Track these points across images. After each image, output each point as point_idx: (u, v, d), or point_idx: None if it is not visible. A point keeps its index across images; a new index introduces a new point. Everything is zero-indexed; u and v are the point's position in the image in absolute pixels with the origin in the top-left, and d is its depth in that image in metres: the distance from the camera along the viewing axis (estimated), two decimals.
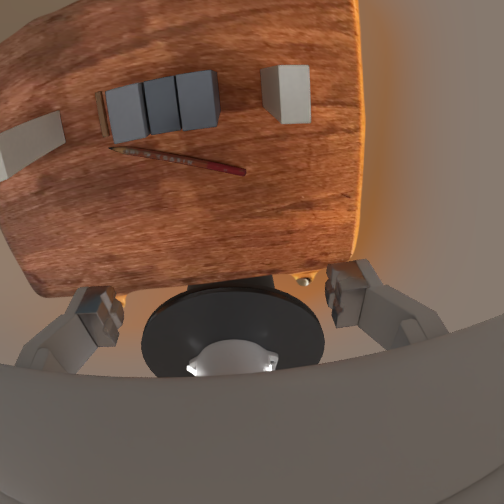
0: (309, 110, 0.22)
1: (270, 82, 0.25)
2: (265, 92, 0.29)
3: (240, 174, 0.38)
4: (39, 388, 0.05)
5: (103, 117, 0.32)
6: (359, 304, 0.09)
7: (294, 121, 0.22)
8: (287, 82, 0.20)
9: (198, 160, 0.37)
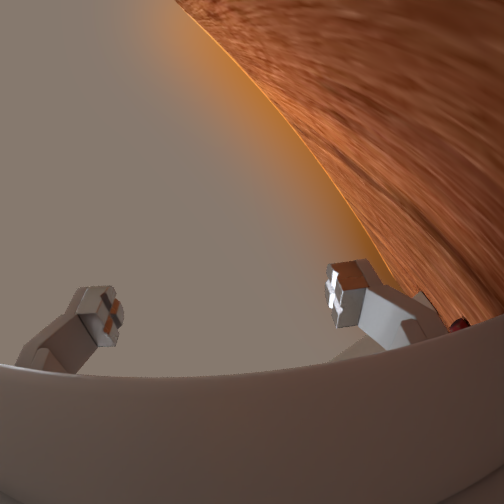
0: None
1: None
2: None
3: None
4: (39, 388, 0.05)
5: None
6: (359, 304, 0.09)
7: None
8: None
9: None
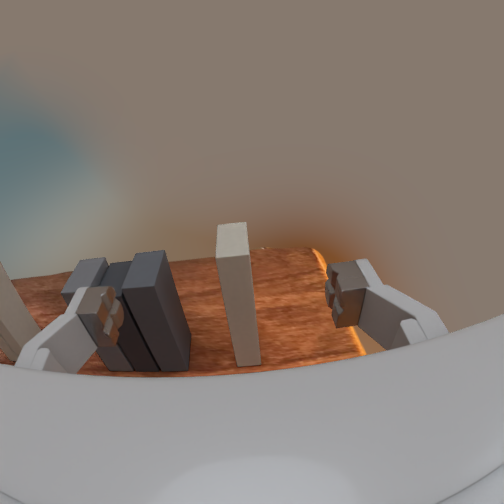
0: (247, 246, 0.23)
1: None
2: None
3: None
4: (39, 388, 0.05)
5: None
6: (359, 304, 0.09)
7: (230, 254, 0.22)
8: (224, 232, 0.25)
9: None
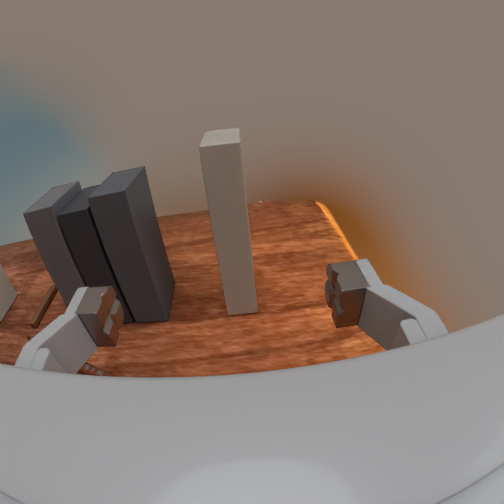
0: (238, 138, 0.18)
1: None
2: None
3: None
4: (39, 388, 0.05)
5: (42, 306, 0.26)
6: (359, 304, 0.09)
7: (217, 143, 0.17)
8: (213, 134, 0.20)
9: (113, 374, 0.19)
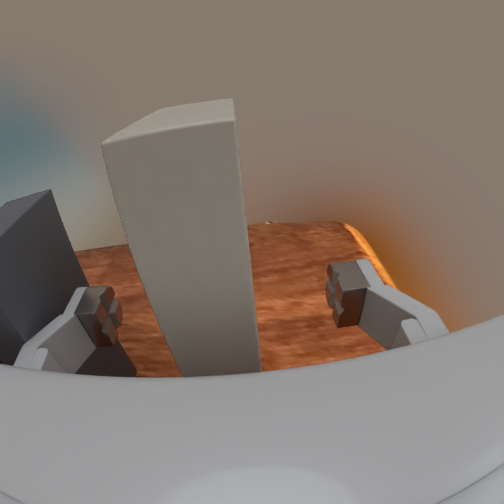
0: (228, 111, 0.05)
1: None
2: None
3: None
4: (39, 388, 0.05)
5: None
6: (360, 304, 0.09)
7: (156, 128, 0.05)
8: (169, 110, 0.07)
9: None
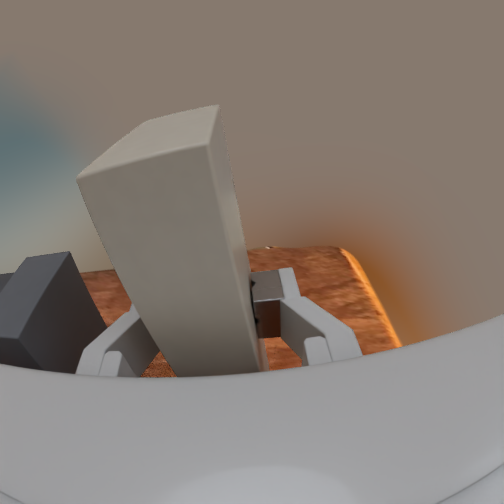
0: (205, 129, 0.05)
1: None
2: None
3: None
4: (39, 388, 0.05)
5: None
6: (276, 316, 0.09)
7: (129, 158, 0.05)
8: (152, 125, 0.07)
9: None
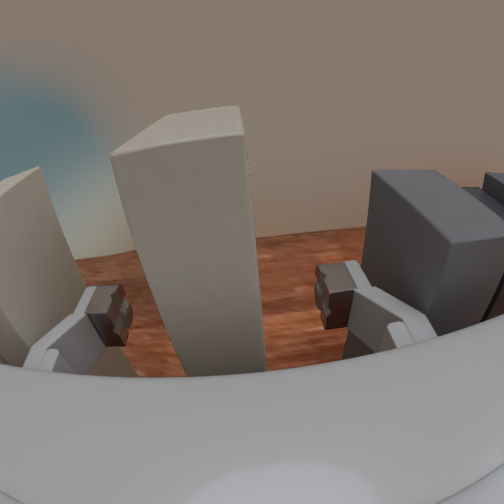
0: (237, 122, 0.06)
1: None
2: None
3: None
4: (39, 388, 0.05)
5: None
6: (347, 306, 0.09)
7: (166, 140, 0.05)
8: (176, 118, 0.08)
9: None
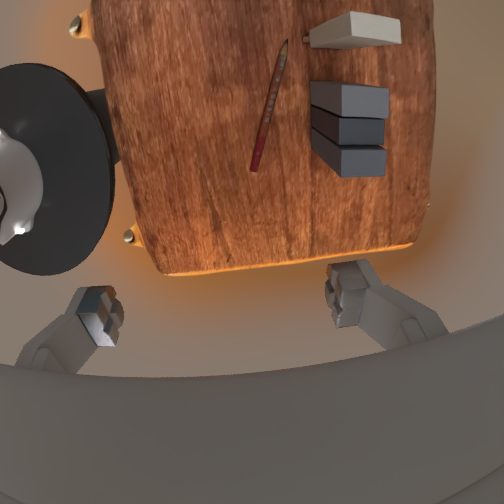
0: (363, 36, 0.19)
1: None
2: None
3: (253, 167, 0.39)
4: (39, 388, 0.05)
5: None
6: (359, 304, 0.09)
7: (352, 21, 0.18)
8: (386, 23, 0.18)
9: (267, 127, 0.36)
